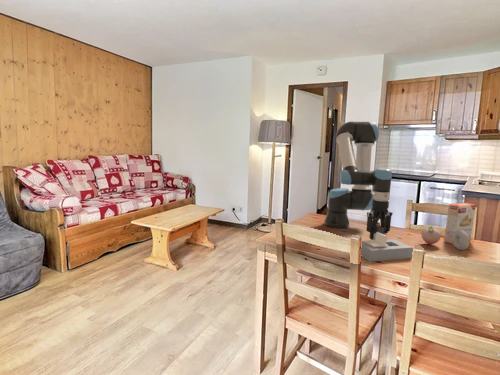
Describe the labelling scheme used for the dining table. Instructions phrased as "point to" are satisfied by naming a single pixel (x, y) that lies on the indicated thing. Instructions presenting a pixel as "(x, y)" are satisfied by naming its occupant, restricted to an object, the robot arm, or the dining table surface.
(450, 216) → the cracker box
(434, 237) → the decorative fruit
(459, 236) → the donut
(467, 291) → the dining table surface
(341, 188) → the robot arm
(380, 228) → the plug
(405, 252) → the socket housing
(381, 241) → the cream l-shaped bracket
